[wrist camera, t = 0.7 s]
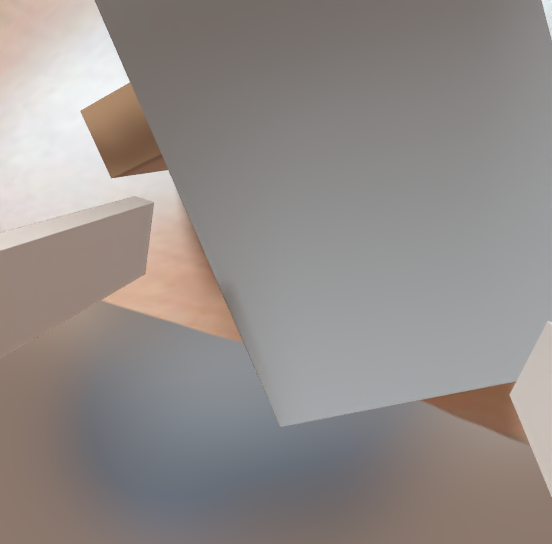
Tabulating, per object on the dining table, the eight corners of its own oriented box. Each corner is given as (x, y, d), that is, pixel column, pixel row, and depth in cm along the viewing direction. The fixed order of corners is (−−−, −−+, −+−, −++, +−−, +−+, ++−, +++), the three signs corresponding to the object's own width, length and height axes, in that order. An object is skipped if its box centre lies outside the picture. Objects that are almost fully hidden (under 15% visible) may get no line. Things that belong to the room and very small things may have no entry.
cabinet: (226, 31, 38) (26, -91, 18) (411, -75, 33) (431, -428, 12) (326, 289, 43) (259, 431, 22) (504, 236, 37) (633, 358, 17)
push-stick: (164, 117, 42) (80, 110, 31) (370, 10, 35) (357, -48, 24) (185, 167, 43) (111, 178, 32) (391, 72, 36) (387, 44, 25)
